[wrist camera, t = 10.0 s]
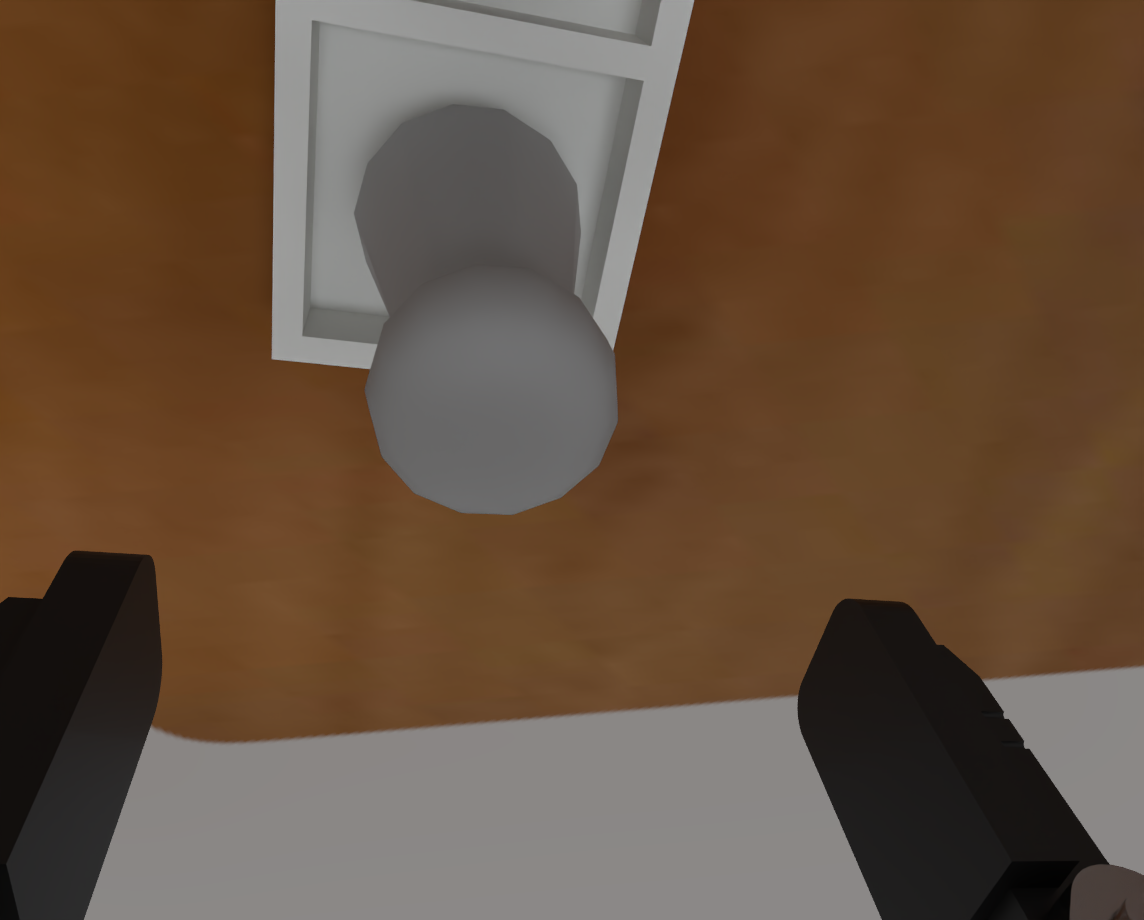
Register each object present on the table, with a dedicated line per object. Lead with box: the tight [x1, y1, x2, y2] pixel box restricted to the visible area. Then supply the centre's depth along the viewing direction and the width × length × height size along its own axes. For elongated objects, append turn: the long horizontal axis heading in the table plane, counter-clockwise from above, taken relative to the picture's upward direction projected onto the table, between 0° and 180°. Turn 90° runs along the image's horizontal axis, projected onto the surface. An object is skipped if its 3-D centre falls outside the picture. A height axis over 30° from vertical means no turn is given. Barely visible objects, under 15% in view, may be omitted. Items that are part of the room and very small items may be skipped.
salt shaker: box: [354, 104, 618, 515], centre depth 20 cm, size 6×6×13 cm
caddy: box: [272, 0, 694, 369], centre depth 22 cm, size 10×18×3 cm, turn 169°
